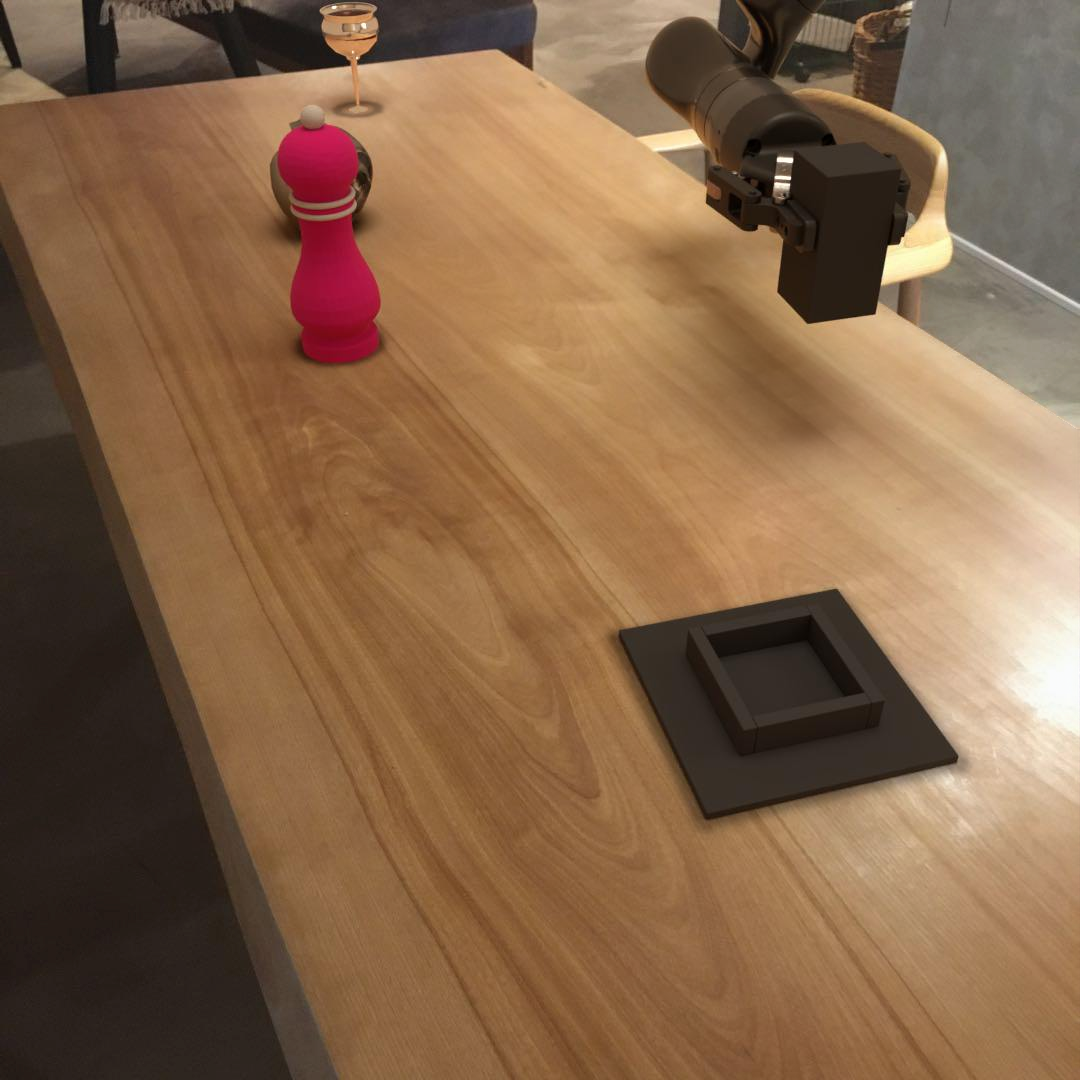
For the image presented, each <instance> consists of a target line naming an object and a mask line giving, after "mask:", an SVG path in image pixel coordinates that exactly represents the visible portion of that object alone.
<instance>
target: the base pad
mask: <svg viewBox="0 0 1080 1080" xmlns="http://www.w3.org/2000/svg"><path fill="white" fill-rule="evenodd" d="M618 638H619V641H620V643H621V645H622V646H623V647H622V648H623V649H624V651H625V653H626V656H627V657H628V660H629V661H630V664H631V665H632V668H633V670H634V672H635V673H636V676H637V678H638V680H639V683H640V684H641V687H642V689H643V691H644V693H645V695H646V697H647V699H648V701H649V703H650V705H651V708H652V710H653V712H654V713H655V716H656V718H657V720H658V722H659V724H660V727H661V728H662V730H663V733H664V735H665V737H666V739H667V741H668V744H669V745H670V747H671V749H672V751H673V753H674V756H675V757H676V758H675V759H676V760H677V763H678V764H679V766H680V768H681V770H682V772H683V775H684V777H685V780H686V781H687V783H688V785H689V788H690V790H691V791H692V793H693V795H694V797H695V799H696V802H697V803H698V806H699V809H700V810H701V812H702V814H703V816H704V818H705V820H707V821H708V820H713V819H717V818H722V817H727V816H730V815H735V814H740V813H743V812H744V813H745V812H748V811H753V810H757V809H760V808H766V807H770V806H774V805H778V804H783V803H787V802H791V801H796V800H800V799H805V798H809V797H813V796H817V795H823V794H826V793H827V794H828V793H831V792H836V791H839V790H843V789H848V788H853V787H856V786H857V787H858V786H861V785H865V784H871V783H874V782H879V781H884V780H887V779H892V778H896V777H900V776H905V775H909V774H913V773H918V772H922V771H927V770H930V769H936V768H940V767H944V766H949V765H952V764H956V763H958V760H959V757H960V756H959V754H958V752H957V751H956V750H955V748H954V747H953V746H952V744H951V743H950V742H949V740H948V739H947V738H946V736H945V735H944V734H943V732H942V731H941V729H940V728H939V727H938V725H937V724H936V723H935V721H934V719H932V717H931V716H930V714H929V713H928V711H927V710H926V709H925V707H924V706H923V704H921V702H920V700H919V699H918V698H917V696H916V695H915V694H914V692H913V690H911V688H910V687H909V686H908V684H907V683H906V681H905V680H904V678H903V677H902V676H901V674H900V673H899V672H898V670H897V669H896V668H895V667H894V665H893V664H892V662H891V661H890V659H889V658H888V657H887V655H886V654H885V652H884V651H883V650H882V648H881V647H880V645H879V644H878V643H877V641H876V640H875V638H874V637H873V636H872V635H871V633H870V632H869V630H868V629H867V627H866V626H865V625H864V623H863V622H862V621H861V620H860V618H859V617H858V615H857V614H856V612H855V611H854V609H852V607H851V605H850V604H849V603H848V601H847V600H846V599H845V597H844V596H843V595H842V593H841V592H840V591H839V589H838V588H832V589H827V590H822V591H815V592H811V593H806V594H801V595H796V596H791V597H785V598H780V599H775V600H774V599H773V600H769V601H765V602H758V603H754V604H749V605H744V606H739V607H733V608H728V609H723V610H717V611H712V612H707V613H702V614H696V615H691V616H685V617H680V618H676V619H669V620H665V621H659V622H655V623H649V624H645V625H644V624H643V625H639V626H633V627H629V628H623V629H619V630H618Z"/></svg>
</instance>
